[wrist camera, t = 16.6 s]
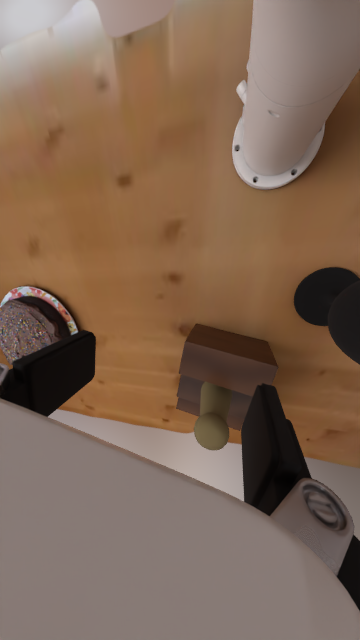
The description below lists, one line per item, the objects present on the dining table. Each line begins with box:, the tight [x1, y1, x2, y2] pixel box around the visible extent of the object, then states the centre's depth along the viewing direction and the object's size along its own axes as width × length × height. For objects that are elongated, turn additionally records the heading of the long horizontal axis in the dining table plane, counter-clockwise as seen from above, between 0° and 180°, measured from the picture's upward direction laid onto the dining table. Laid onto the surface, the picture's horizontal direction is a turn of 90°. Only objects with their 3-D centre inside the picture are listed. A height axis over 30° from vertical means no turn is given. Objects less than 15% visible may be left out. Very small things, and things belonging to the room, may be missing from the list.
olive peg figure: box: [194, 382, 232, 450], centre depth 32 cm, size 6×6×11 cm
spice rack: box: [176, 324, 278, 431], centre depth 39 cm, size 21×15×10 cm
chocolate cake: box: [0, 286, 78, 365], centre depth 51 cm, size 28×28×7 cm
